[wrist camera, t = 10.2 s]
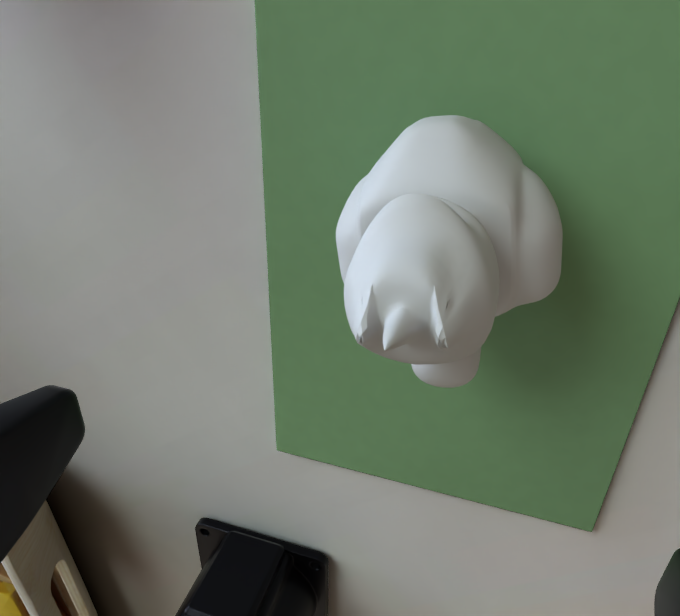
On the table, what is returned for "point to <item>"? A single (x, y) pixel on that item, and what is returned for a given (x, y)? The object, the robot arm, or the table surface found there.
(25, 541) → the toy food set
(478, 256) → the white animal figurine
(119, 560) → the table surface
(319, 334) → the cloth
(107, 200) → the table surface
